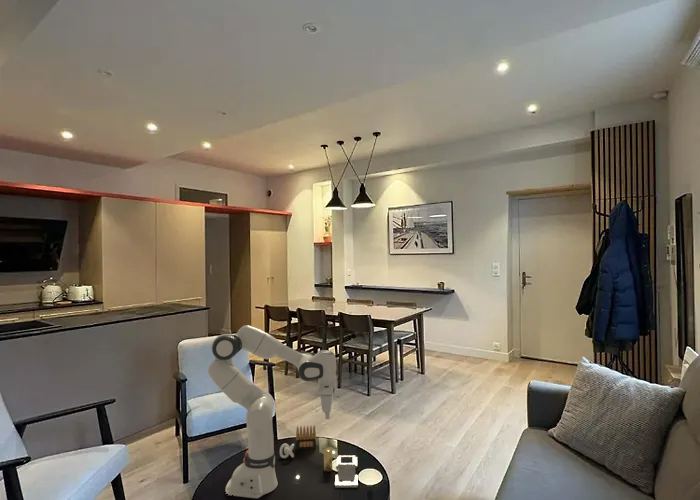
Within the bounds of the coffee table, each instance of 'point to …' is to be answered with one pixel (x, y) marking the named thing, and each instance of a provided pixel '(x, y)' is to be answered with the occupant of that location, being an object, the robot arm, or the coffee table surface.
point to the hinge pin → (328, 460)
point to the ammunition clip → (306, 438)
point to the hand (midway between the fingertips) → (328, 414)
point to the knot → (287, 450)
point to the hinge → (346, 472)
